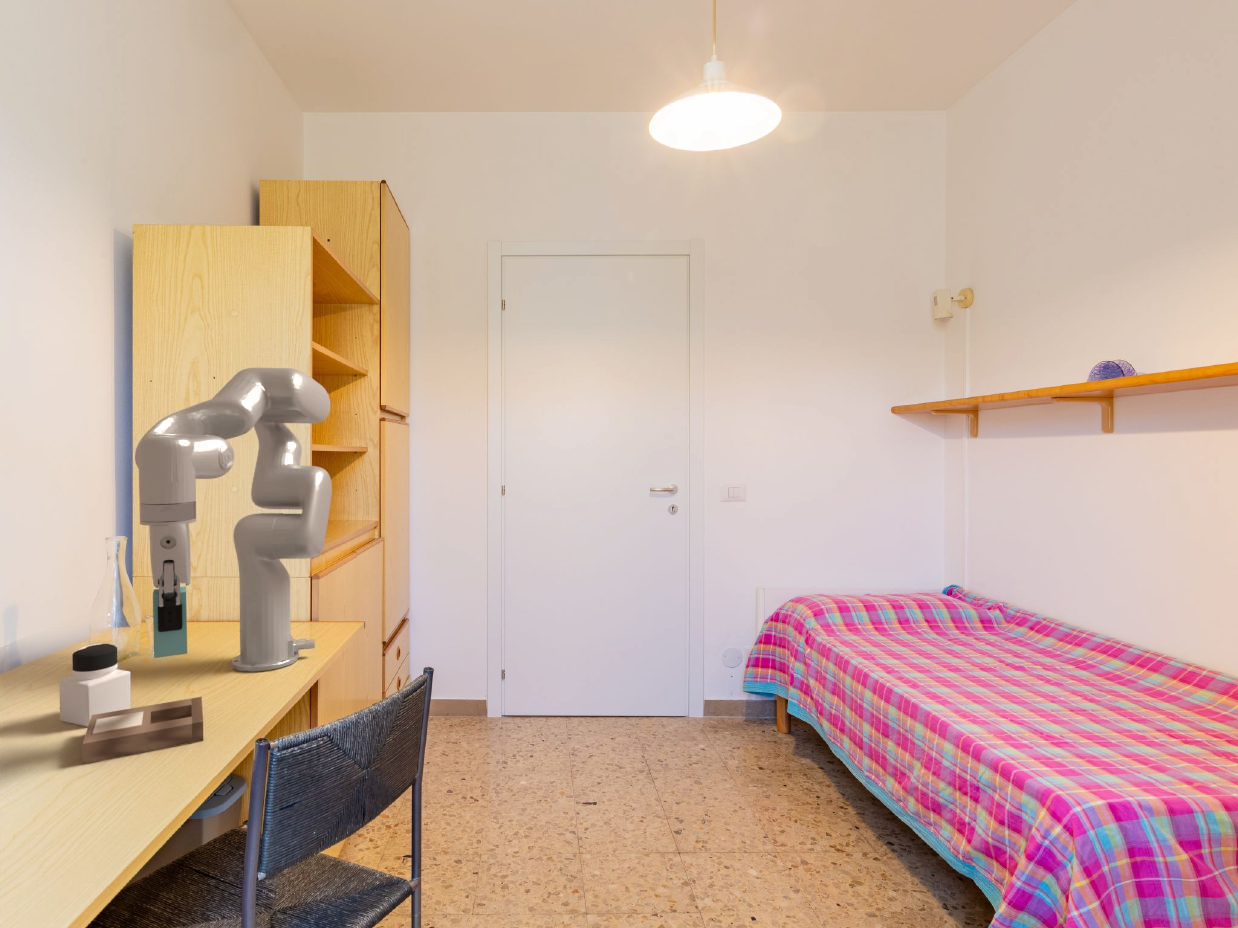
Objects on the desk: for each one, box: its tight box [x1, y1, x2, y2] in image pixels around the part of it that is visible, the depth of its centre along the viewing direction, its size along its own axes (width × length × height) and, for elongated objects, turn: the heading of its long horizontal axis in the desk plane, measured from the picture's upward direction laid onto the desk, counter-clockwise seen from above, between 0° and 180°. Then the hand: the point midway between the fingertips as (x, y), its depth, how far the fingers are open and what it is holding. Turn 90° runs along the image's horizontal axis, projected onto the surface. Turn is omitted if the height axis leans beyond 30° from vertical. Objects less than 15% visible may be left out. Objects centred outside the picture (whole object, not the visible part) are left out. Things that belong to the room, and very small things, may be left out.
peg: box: [152, 586, 188, 659], centre depth 109 cm, size 4×4×10 cm
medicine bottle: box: [58, 643, 132, 728], centre depth 115 cm, size 7×7×12 cm
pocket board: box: [81, 696, 204, 765], centre depth 108 cm, size 15×12×3 cm
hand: (170, 625), depth 109 cm, fingers closed on peg, 4 cm apart
